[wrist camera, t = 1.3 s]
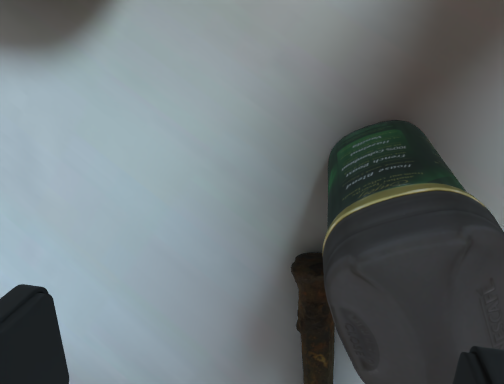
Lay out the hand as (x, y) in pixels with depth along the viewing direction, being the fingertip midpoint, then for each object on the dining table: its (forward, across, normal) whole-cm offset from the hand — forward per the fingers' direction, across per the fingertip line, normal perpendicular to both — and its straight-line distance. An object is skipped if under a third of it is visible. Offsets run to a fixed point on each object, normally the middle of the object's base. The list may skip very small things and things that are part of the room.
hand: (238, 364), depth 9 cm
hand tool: (+25, -2, +20) cm, 32 cm away
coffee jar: (+25, -6, +4) cm, 26 cm away
